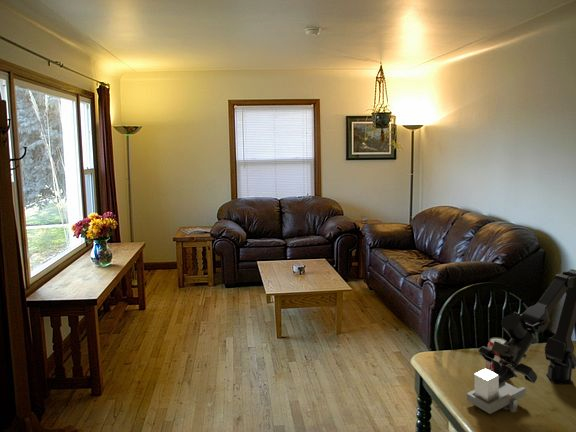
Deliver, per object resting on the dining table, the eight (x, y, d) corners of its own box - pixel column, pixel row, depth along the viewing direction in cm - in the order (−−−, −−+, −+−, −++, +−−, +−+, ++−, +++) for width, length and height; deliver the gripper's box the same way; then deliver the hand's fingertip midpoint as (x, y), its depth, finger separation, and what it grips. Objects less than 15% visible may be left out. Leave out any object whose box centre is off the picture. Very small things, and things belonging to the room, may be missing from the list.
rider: (485, 393, 163) (485, 368, 161) (498, 400, 159) (498, 375, 157) (474, 399, 161) (474, 373, 159) (487, 406, 157) (487, 380, 155)
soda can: (504, 378, 179) (507, 346, 177) (483, 373, 183) (486, 342, 181) (508, 370, 185) (510, 339, 183) (487, 365, 189) (489, 335, 187)
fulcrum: (487, 393, 169) (488, 383, 169) (517, 410, 159) (518, 399, 159) (481, 395, 168) (482, 385, 167) (511, 413, 158) (512, 401, 157)
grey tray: (501, 382, 170) (501, 375, 169) (525, 395, 162) (525, 388, 162) (466, 400, 162) (466, 393, 162) (490, 414, 155) (490, 406, 154)
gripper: (483, 322, 168) (457, 361, 165) (534, 343, 152) (507, 386, 149) (497, 340, 173) (473, 377, 170) (548, 362, 157) (522, 404, 154)
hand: (492, 385), depth 160 cm, fingers closed, pressing on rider
